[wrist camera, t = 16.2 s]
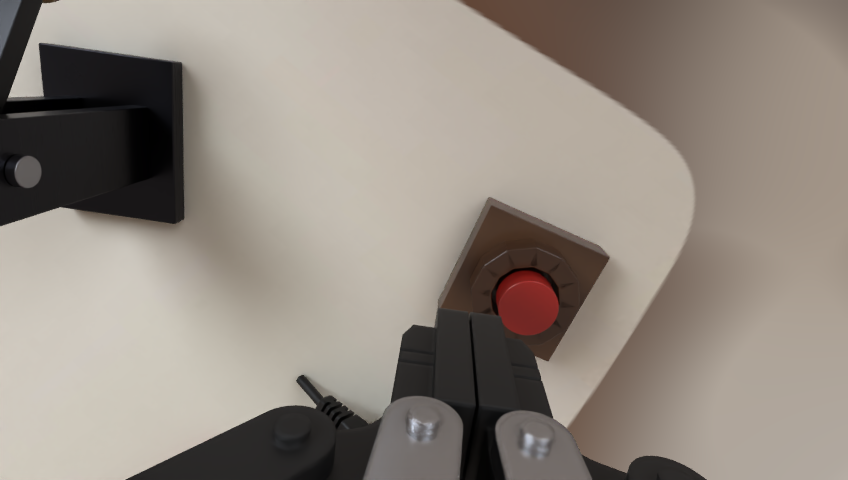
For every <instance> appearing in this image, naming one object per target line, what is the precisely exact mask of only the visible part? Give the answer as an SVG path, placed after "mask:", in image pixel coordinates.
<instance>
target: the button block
mask: <svg viewBox="0 0 848 480" xmlns="http://www.w3.org/2000/svg"><path fill="white" fill-rule="evenodd" d="M609 258H610V257H609V256H608V255H607V254H606V253H605V251H604V250H603V249H602V248H601V247H600V246H598V245H596V244H594V243H592V242H589V241H587V240H585V239H583V238H580V237H578V236H576V235H574V234H571V233H569V232H567V231H565V230H562V229H560V228H558V227H556V226H553V225H551V224H549V223H547V222H544V221H542V220H540V219H538V218H535V217H533V216H531V215H529V214H526V213H524V212H522V211H520V210H517V209H515V208H513V207H510V206H508V205H506V204H504V203H501V202H499V201H497V200H495V199H492V198H490V197H489V198H488V200H487V202H486V204H485V206H484V208H483V210H482V212H481V214H480V216H479V218H478V220H477V222H476V224H475V226H474V228H473V230H472V232H471V234H470V237H469V239H468V241H467V243H466V245H465V247H464V249H463V251H462V253H461V255H460V257H459V259H458V261H457V263H456V265H455V267H454V269H453V271H452V273H451V275H450V277H449V279H448V281H447V283H446V285H445V288H444V290H443V292H442V294H441V296H440V298H439V300H438V308H445V309H452V310H459V311H467V312H468V314H469V313H470V312H475V313H482V314H489V315H496V316H499V313H498V308H497V303H496V292H497V289H498V286H499V285H500V283H501V282H502V281H503V279H504V278H506V277H507V276H508V275H510V274H512V273H514V272H517V271H522V270H529V271H534V272H537V273H539V274H541V275H543V276H544V277H545V278H546V279H547V280H548V281H549V283H550V284H551V286H552V288H553V290H554V292H555V294H556V297H557V299H558V303H559V311H558V315H557V317H556V319H555V321H554V323H553V324H552V325H551V326H550V327H549V328H548V329H546V330H545V331H543V332H541V333H539V334H535V335H520V334H517V333H514V332H512V331H511V330H509V329H508V328H507V327H506V326H505V325H504V324H503V328H504V332H505V337H506V338H513V339H520V340H522V341H523V342H524V343H525V344H526V345H527V346H528V347H529V349H530V350H531V351H532V352H533V353H534V356H536V357H539V358H541V359H543V360H546V361H549V359H550V357H551V356H552V354H553V352H554V351H555V349H556V347H557V346H558V344H559V342H560V341H561V339H562V337H563V336H564V334H565V332H566V331H567V329H568V327H569V326H570V324H571V322H572V320H573V319H574V317H575V315H576V314H577V312H578V310H579V309H580V307H581V305H582V304H583V302H584V300H585V299H586V297H587V295H588V294H589V292H590V290H591V289H592V287H593V285H594V284H595V282H596V280H597V278H598V277H599V275H600V273H601V272H602V270H603V268H604V267H605V265H606V263H607V262H608V260H609Z"/></svg>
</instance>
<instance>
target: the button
mask: <svg viewBox="0 0 848 480" xmlns="http://www.w3.org/2000/svg"><path fill="white" fill-rule="evenodd" d="M496 303H497V308H498V313H499V316H501V318H502V323H503V324H504V325H505V326H506V327H507V328H508V329H509V330H511V331H512V332H514V333H517V334H520V335H535V334H539V333H541V332H543V331H545V330H546V329H548V328H549V327H550V326H551V325H552V324H553V323H554V321H555V319H556V317H557V315H558V311H559V303H558V299H557V297H556V294H555V292H554V290H553V288H552V286H551V284H550V283H549V281H548V280H547V279H546V278H545V277H544V276H543V275H541V274H539V273H537V272H534V271H529V270H522V271H517V272H514V273H512V274H510V275H508V276H507V277H506V278H504V279H503V281H502V282H501V283H500V285H499V286H498V289H497V292H496Z"/></svg>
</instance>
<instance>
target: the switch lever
mask: <svg viewBox="0 0 848 480" xmlns="http://www.w3.org/2000/svg"><path fill="white" fill-rule="evenodd" d="M56 1H59V0H0V114H2V112H3V109H4V107H5V104H6V101H7V98H8V96H9V93H10V90H11V87H12V85H13V82H14V79H15V76H16V74H17V71H18V68H19V65H20V62H21V60H22V57H23V54H24V51H25V49H26V46H27V43H28V40H29V38H30V35H31V32H32V29H33V27H34V24H35V21H36V18H37V15H38V13H39V10H40V7H41V4H42V3H52V2H56Z"/></svg>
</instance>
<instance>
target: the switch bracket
mask: <svg viewBox="0 0 848 480" xmlns="http://www.w3.org/2000/svg"><path fill="white" fill-rule="evenodd" d="M39 51H40V62H41V72H42V83H43V93H44V96H41V97H12V98H7V101H6V104H5V107H4V109H3V112H2V114H0V226H3V225H6V224H9V223H12V222H15V221H18V220H22V219H25V218H28V217H31V216H34V215H37V214H40V213H43V212H47V211H50V210H53V209H56V208H59V207H63V208H70V209H77V210H84V211H90V212H97V213H104V214H111V215H118V216H125V217H131V218H138V219H145V220H152V221H159V222H166V223H172V224H176V223H178V222H180V221H182V220H183V219H184V176H183V101H182V63H181V62H175V61H168V60H161V59H154V58H147V57H140V56H133V55H126V54H119V53H112V52H105V51H98V50H91V49H84V48H78V47H71V46H64V45H57V44H47V43H39Z"/></svg>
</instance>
